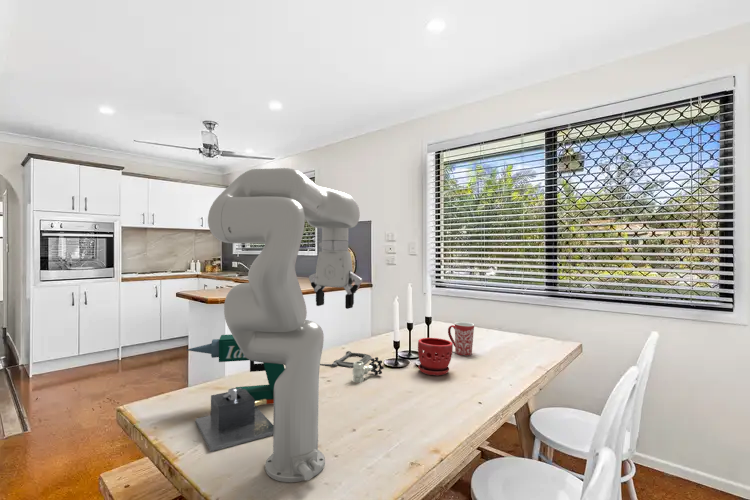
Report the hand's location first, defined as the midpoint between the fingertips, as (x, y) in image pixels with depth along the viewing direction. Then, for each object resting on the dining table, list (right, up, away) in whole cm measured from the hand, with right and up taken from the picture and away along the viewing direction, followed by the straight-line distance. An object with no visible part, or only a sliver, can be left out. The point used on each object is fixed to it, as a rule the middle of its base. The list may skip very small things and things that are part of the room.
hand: (334, 306), depth 112 cm
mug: (+51, -31, +66) cm, 88 cm away
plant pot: (+35, -31, +38) cm, 60 cm away
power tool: (-29, -30, +6) cm, 42 cm away
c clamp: (0, -31, +50) cm, 59 cm away
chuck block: (-24, -30, -10) cm, 40 cm away
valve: (+8, -31, +30) cm, 43 cm away
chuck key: (-26, -29, -8) cm, 40 cm away
